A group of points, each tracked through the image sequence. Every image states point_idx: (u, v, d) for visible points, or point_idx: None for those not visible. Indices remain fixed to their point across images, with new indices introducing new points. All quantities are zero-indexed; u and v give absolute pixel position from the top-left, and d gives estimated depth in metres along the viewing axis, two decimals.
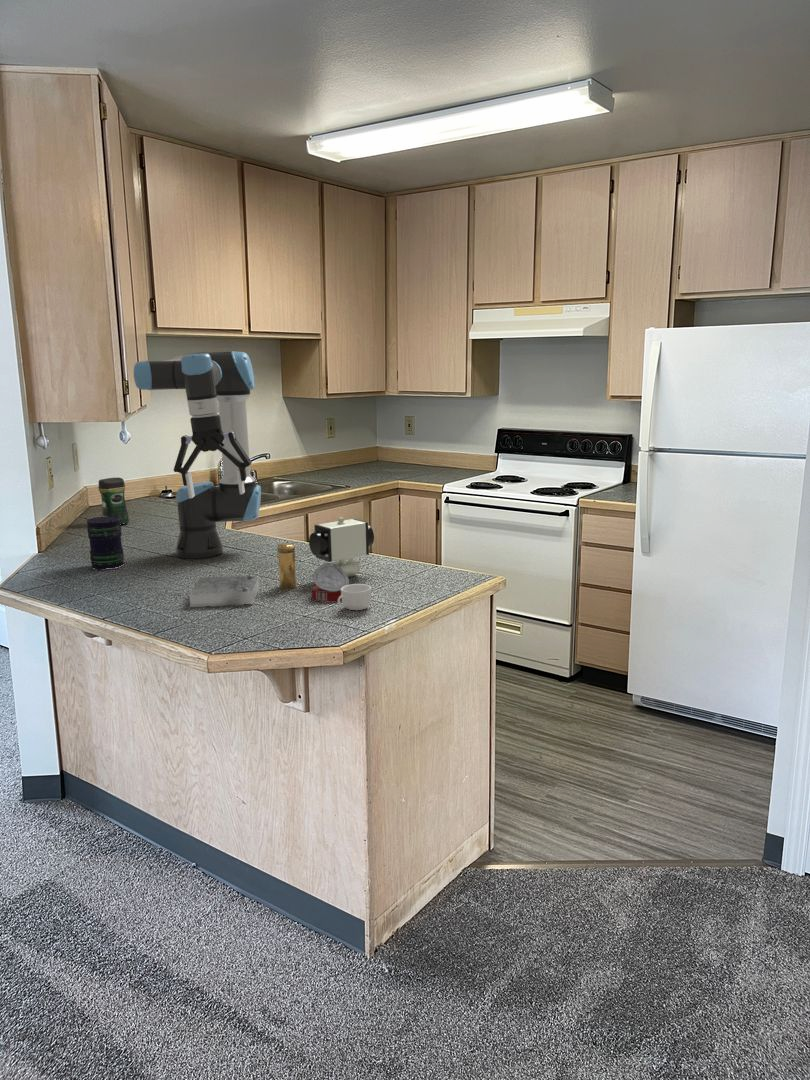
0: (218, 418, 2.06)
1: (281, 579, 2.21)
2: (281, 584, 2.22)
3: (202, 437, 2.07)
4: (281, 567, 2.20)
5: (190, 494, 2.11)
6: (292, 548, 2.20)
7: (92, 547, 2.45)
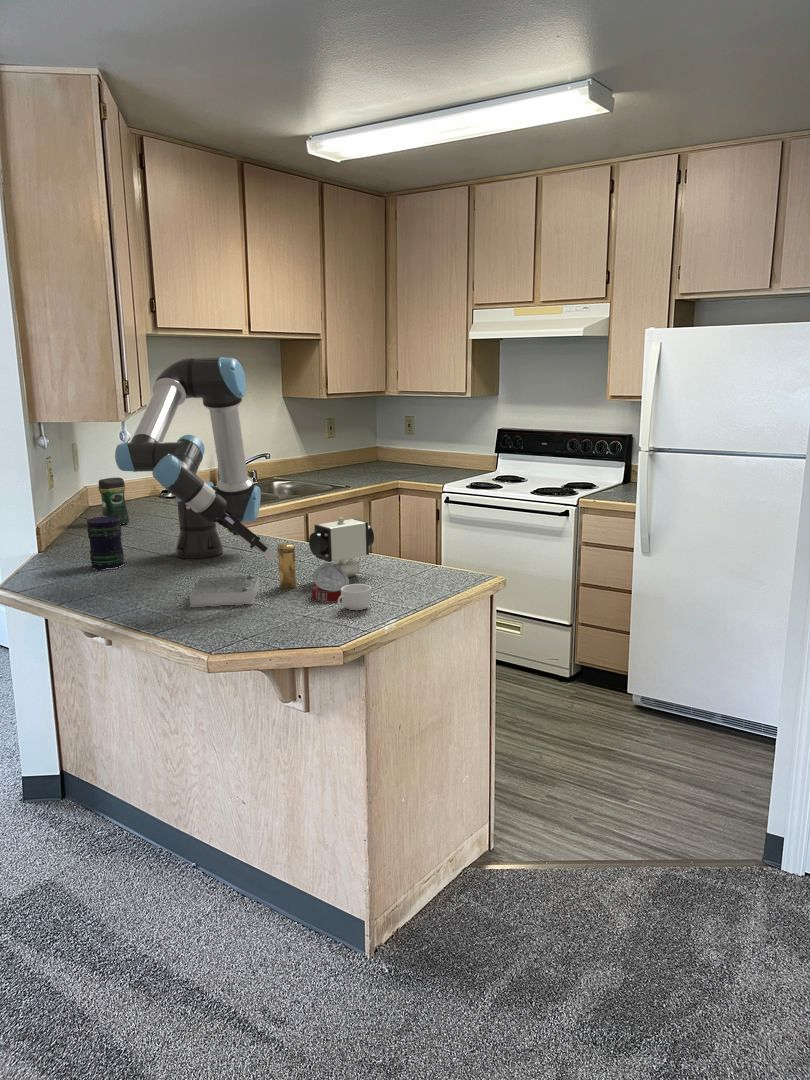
0: (211, 509, 2.04)
1: (281, 579, 2.21)
2: (281, 584, 2.22)
3: (218, 518, 2.11)
4: (281, 567, 2.20)
5: (251, 548, 2.22)
6: (292, 548, 2.20)
7: (92, 547, 2.45)
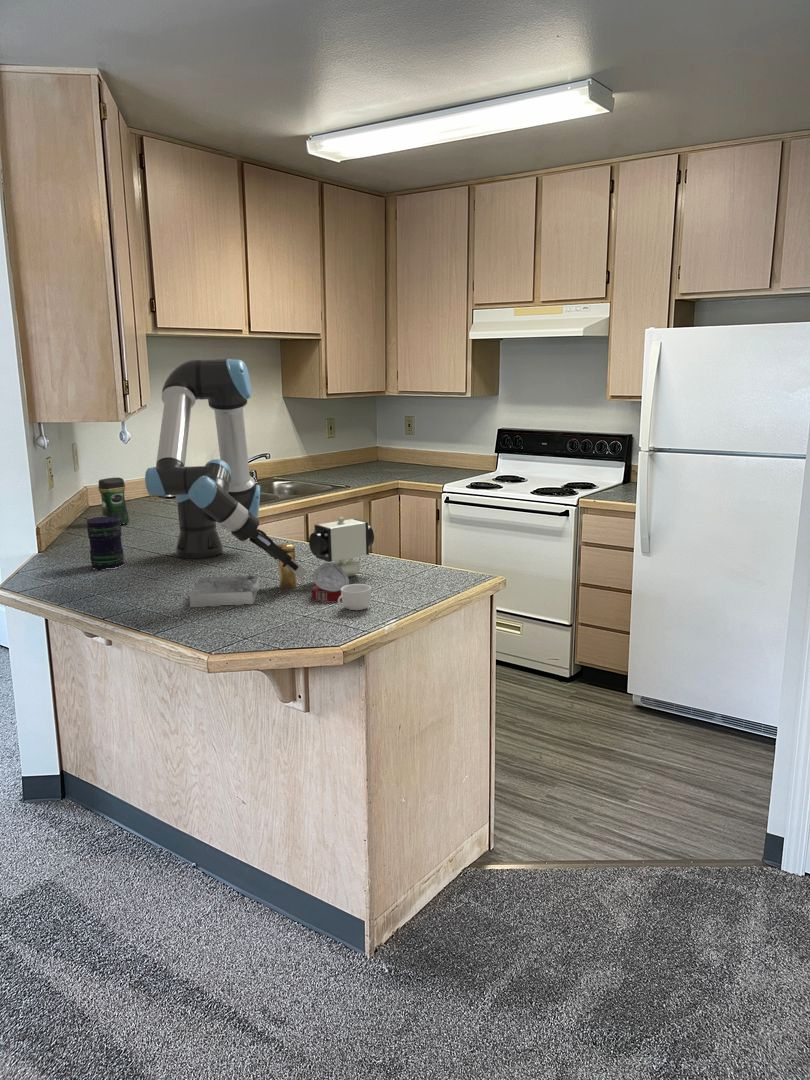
0: (245, 528, 2.11)
1: (281, 579, 2.21)
2: (281, 584, 2.22)
3: (250, 536, 2.17)
4: (281, 567, 2.20)
5: None
6: (292, 548, 2.20)
7: (92, 547, 2.45)
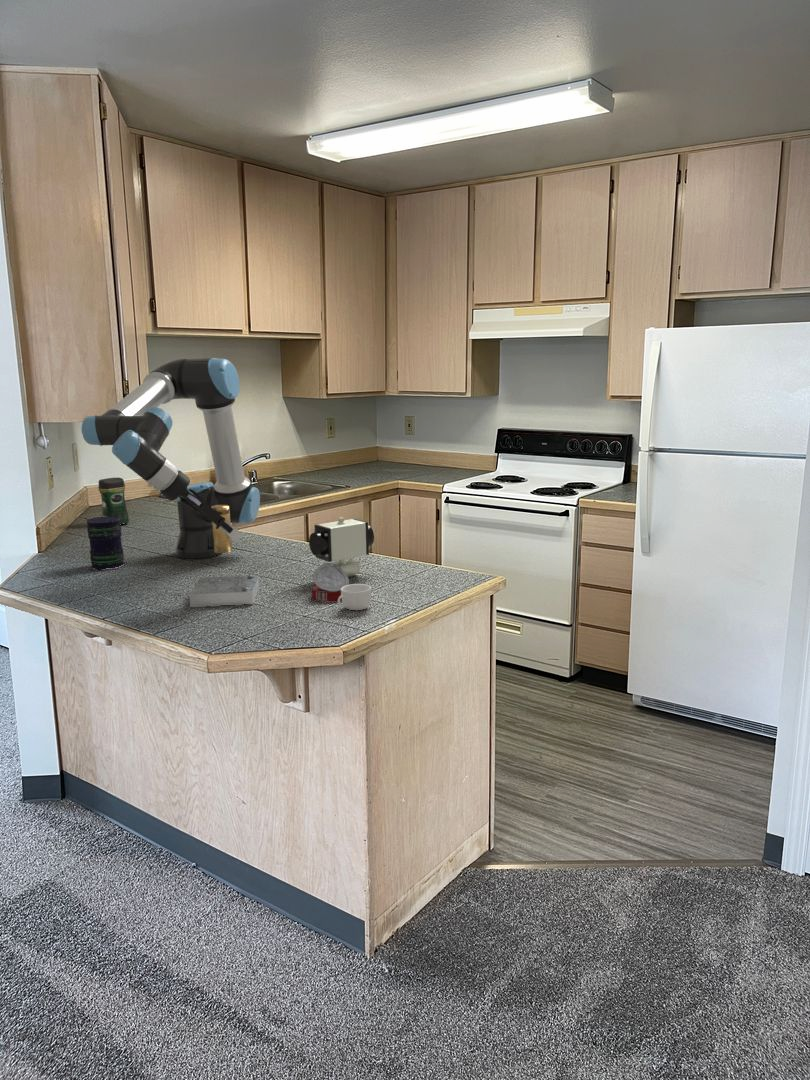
0: (173, 487, 1.99)
1: (215, 542, 2.10)
2: (215, 548, 2.10)
3: (181, 496, 2.05)
4: (215, 530, 2.09)
5: None
6: (226, 509, 2.08)
7: (92, 547, 2.45)
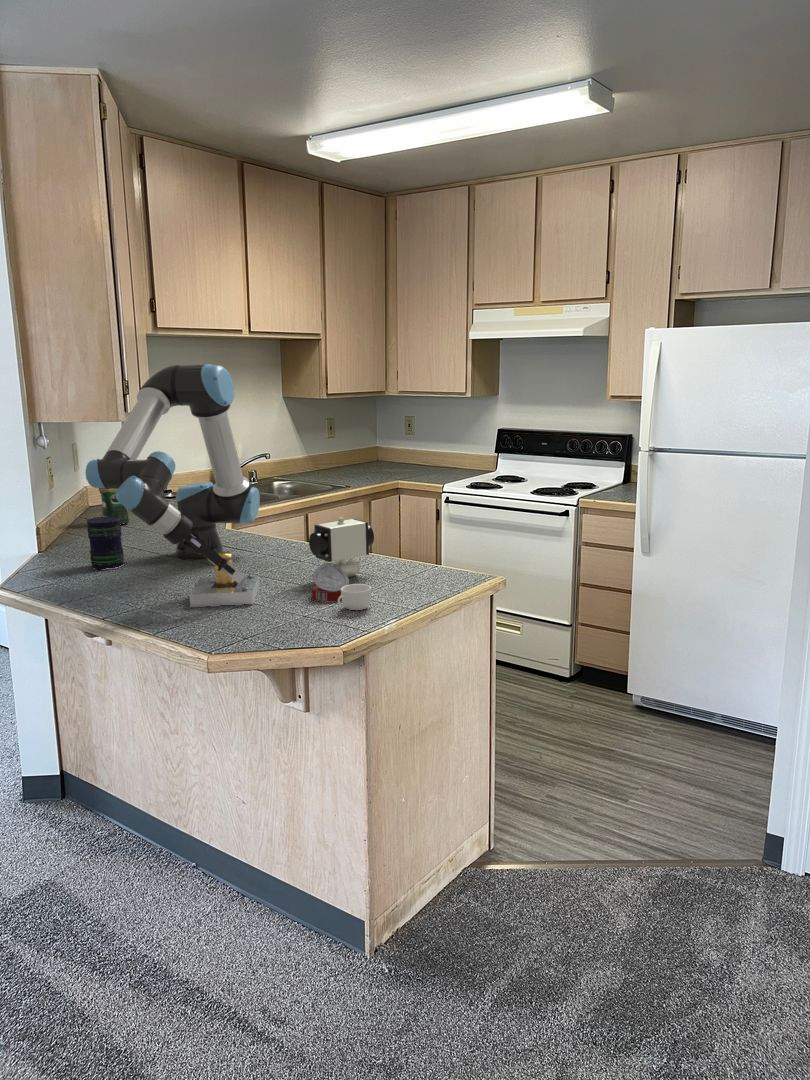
0: (176, 531, 2.01)
1: None
2: None
3: (184, 539, 2.08)
4: (218, 577, 2.12)
5: None
6: (229, 557, 2.11)
7: (92, 547, 2.45)
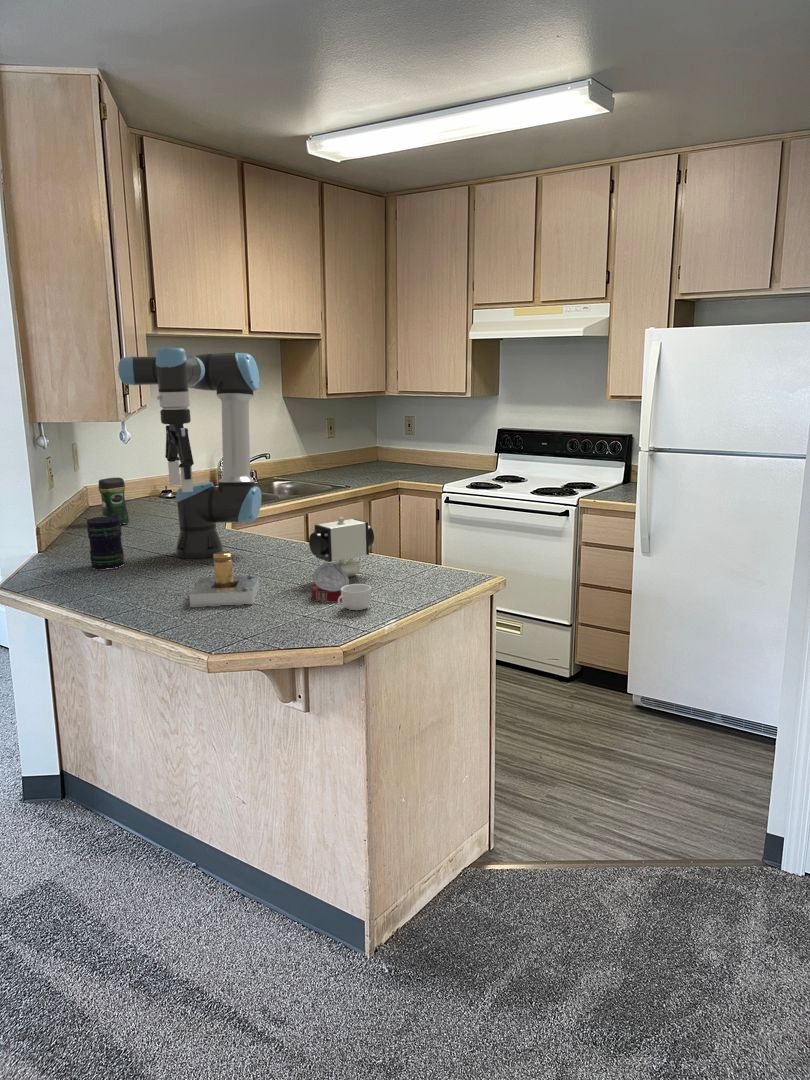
0: (175, 413, 2.07)
1: None
2: None
3: (171, 429, 2.12)
4: (217, 577, 2.12)
5: (170, 481, 2.19)
6: (228, 557, 2.11)
7: (92, 547, 2.45)
